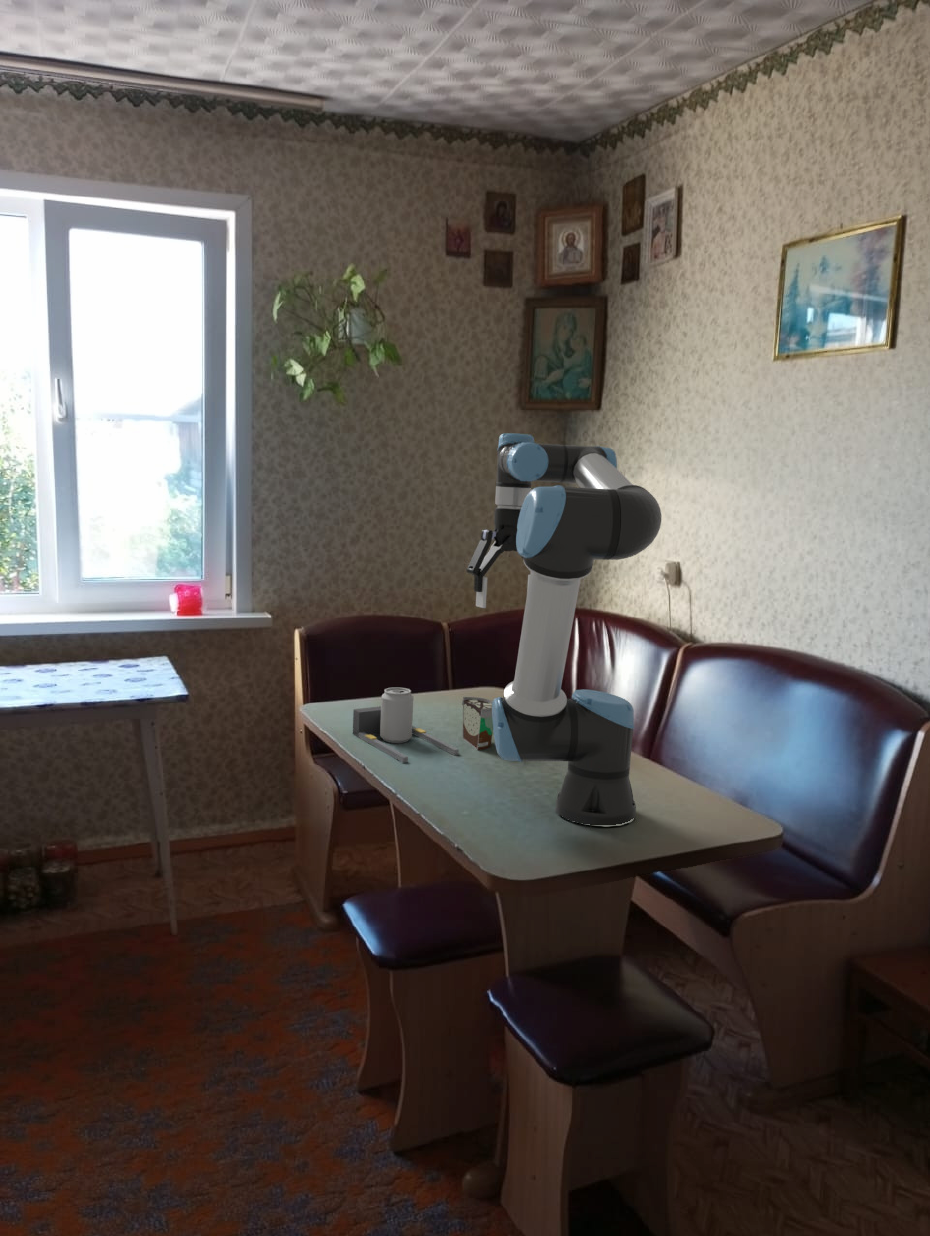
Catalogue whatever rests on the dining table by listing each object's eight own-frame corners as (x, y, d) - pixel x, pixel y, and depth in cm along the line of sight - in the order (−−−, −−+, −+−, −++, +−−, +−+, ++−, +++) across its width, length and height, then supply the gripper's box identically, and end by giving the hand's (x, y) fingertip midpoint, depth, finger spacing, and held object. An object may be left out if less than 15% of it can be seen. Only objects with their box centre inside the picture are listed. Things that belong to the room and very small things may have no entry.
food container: (504, 750, 220) (507, 708, 219) (479, 752, 218) (482, 709, 217) (483, 735, 232) (486, 695, 230) (460, 736, 229) (462, 696, 228)
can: (414, 736, 228) (416, 687, 226) (409, 745, 220) (411, 694, 219) (383, 733, 229) (384, 684, 227) (376, 742, 221) (378, 692, 219)
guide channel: (459, 754, 215) (460, 728, 215) (402, 762, 207) (403, 736, 206) (405, 727, 235) (406, 703, 234) (352, 733, 227) (353, 709, 226)
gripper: (547, 507, 214) (541, 601, 217) (453, 505, 200) (448, 605, 203) (568, 509, 208) (562, 606, 211) (473, 507, 194) (468, 610, 197)
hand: (506, 606), depth 207 cm, fingers open, 13 cm apart
